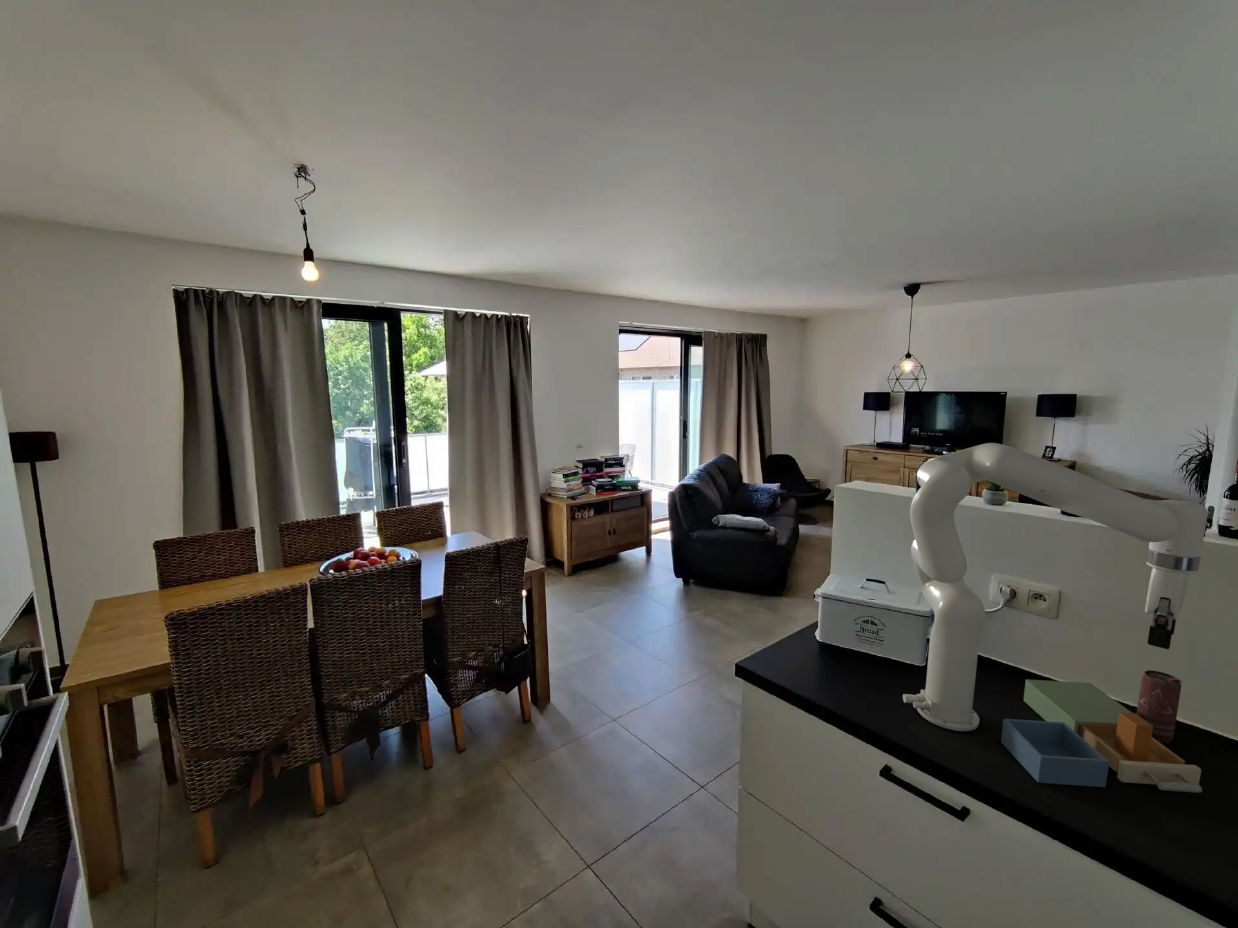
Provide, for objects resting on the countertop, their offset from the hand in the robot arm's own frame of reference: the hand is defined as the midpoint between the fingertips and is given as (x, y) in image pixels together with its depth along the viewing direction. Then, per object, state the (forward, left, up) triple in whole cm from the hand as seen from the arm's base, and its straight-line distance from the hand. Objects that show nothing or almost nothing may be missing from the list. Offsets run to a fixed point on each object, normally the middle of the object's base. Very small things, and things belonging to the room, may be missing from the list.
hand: (1160, 639), depth 113 cm
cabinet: (-9, +6, -24) cm, 26 cm away
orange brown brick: (-9, -7, -22) cm, 25 cm away
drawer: (-9, -9, -23) cm, 26 cm away
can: (+4, +3, -24) cm, 25 cm away
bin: (-25, -9, -24) cm, 35 cm away
